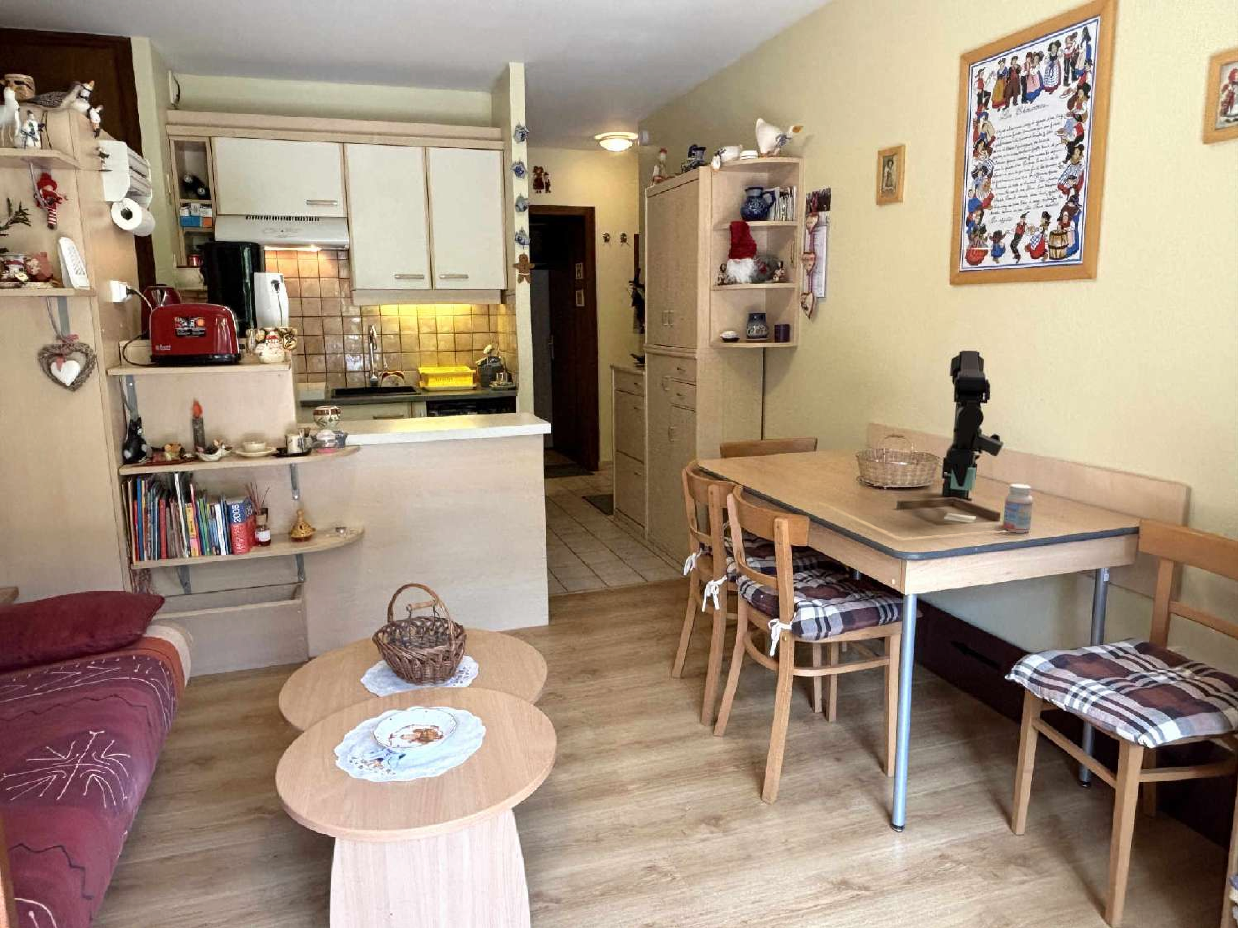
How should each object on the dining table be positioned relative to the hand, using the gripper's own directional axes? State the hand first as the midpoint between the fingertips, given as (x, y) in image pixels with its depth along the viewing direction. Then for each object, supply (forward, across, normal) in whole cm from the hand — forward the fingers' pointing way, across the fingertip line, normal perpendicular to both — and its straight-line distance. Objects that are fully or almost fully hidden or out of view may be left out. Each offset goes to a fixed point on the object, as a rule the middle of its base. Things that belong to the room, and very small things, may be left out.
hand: (962, 484), depth 211 cm
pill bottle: (+10, -2, -14) cm, 17 cm away
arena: (+10, +2, +4) cm, 10 cm away
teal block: (+1, 0, 0) cm, 1 cm away
